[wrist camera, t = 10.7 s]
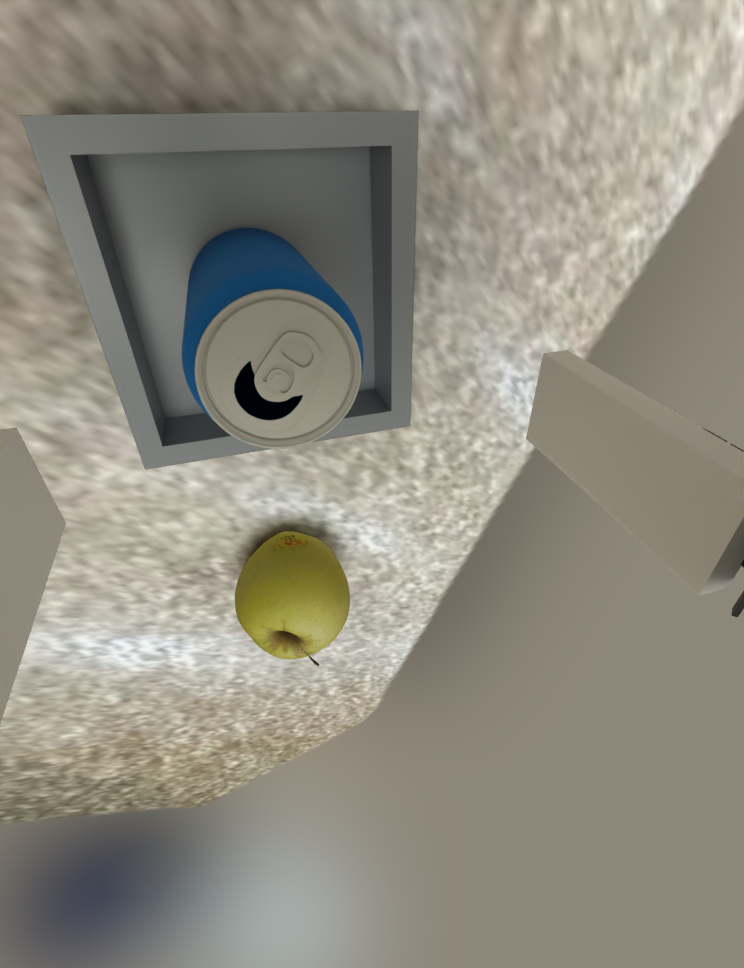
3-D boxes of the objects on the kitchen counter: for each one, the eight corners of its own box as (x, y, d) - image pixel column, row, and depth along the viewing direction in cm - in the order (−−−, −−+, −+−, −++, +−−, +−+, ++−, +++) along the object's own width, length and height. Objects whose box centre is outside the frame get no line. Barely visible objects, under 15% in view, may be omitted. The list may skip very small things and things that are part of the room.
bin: (47, 120, 20) (20, 115, 17) (389, 115, 24) (418, 110, 21) (150, 434, 29) (145, 469, 26) (389, 399, 32) (410, 426, 29)
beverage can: (164, 306, 25) (141, 402, 16) (232, 194, 23) (253, 226, 14) (269, 373, 29) (302, 485, 19) (335, 281, 27) (409, 354, 17)
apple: (350, 510, 36) (378, 642, 30) (325, 565, 41) (344, 685, 35) (240, 507, 33) (245, 652, 27) (229, 567, 38) (231, 697, 32)
